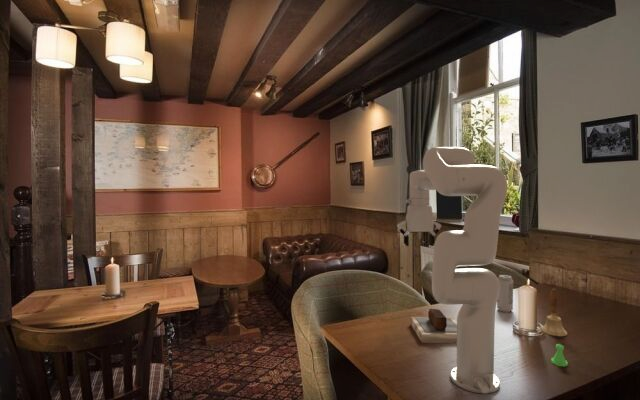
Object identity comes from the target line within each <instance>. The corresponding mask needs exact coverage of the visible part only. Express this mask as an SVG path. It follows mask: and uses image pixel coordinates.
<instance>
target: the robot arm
mask: <svg viewBox="0 0 640 400" xmlns="http://www.w3.org/2000/svg"><path fill="white" fill-rule="evenodd" d="M475 161H476V160H475V155H474V154H473V152H472V151H471V150H469V149H468V148H466V147H462V146H461V147H460V146H434V147H431V148H429V149H428V150H427V151H426V152H425V154H424V156H423V159H422V166H423V169H419V170H415V171H411V172H410V173H409V198H408V199H406V200H405V203H406V204H408V205H407V208H406V216H405V220H403V221H401V222H400V223H398V224H396V226H397V229H398V231H399V232H400V233H401V234H402V235H403V244H404V245H405V246H406V247H409V241H410V240H409V239H410V238H409V234H410V233H411V232H413V233H415V232H419V233H420V232H424V233H425V232H427V233H429V236H428V245H429V246H431V247H433V257H432V271H431V272H432V274H431V292H432V295H433V298H434V300H435V301H436V302H438V304H441V305H461V307H460V309H459V310H458V314H457V317H456V322H457V343H456V365H455V366H456V367H453V368H452V369H451V371H450V379H451V380H452V382H453V383H454V384H455V385H456V386H457V387H458V388H459V387H460V388H462V389H463V390H465V391H468V392H472V393H476V394H490V393H491V394H492V393H494V392H496V391H498V390H499V389H500V386H501V381H500V379H499V377H498V376H496V375H495V373H494V370H495V365H494V364H495V363H494V362H495V328H496V327H495V320H496V319H495V318H496V309H497V299H498V295H499V288H500V286H499V281H498V278H499V277H497V275H496V273H494V272H493V271H491V270H489V269H487V268H481V267H478V266H487V265H490V264H493V263H494V261H495V260H496V256H497V252H498V251H497V250H498V242H499V231H500V219H501V215H502V214H501V213H502V211H503V207H504V205H505V202H506V198H507V196H508V195H507V194H508V180H507V178H506V174H505V173H504V172H503V170H501V169H500V168H499V167H496V166H493V165H488V164H475V163H476V162H475ZM430 191H437V193H439V194H440V195H442V196H444V197H445V196H446V197H468V196H469V197H471V196H476V198H475V199H474V200H473V201H472V202H471V203H470V205H469V206H468V208H467V209H466V211H465V214H464V221H463V222H464V223H463V228H462V229H461V230H458V229H456V230H446V231H442V232H440V230H441V227H442V224H441V223H439V222H436V221H435V220H434V215H433V208H432V206H431V205H430ZM434 225H435V226H436V227H435V228H434ZM403 226H405V230H404V229H403ZM439 232H440V233H439ZM438 233H439V234H438ZM436 234H438V235H436ZM435 236H437V237H436V239H435ZM474 266H477V267H474ZM457 267H462V268H457ZM464 267H465V268H464Z"/></svg>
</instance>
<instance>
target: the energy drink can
mask: <svg viewBox="0 0 640 400" xmlns="http://www.w3.org/2000/svg"><path fill="white" fill-rule="evenodd" d="M497 278H498V281H499V286H500V288H499V295H498V299H497V304H496V309H498V311H499V310H500V311H499V312H501V311H503V312H502V313H505V312H510V311H511V312H512V311H513V309H514V308H513V307H514V306H513V305H514V279H513V278H512V275H507V274H499V275H498V277H497ZM511 312H510V313H511Z"/></svg>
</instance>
